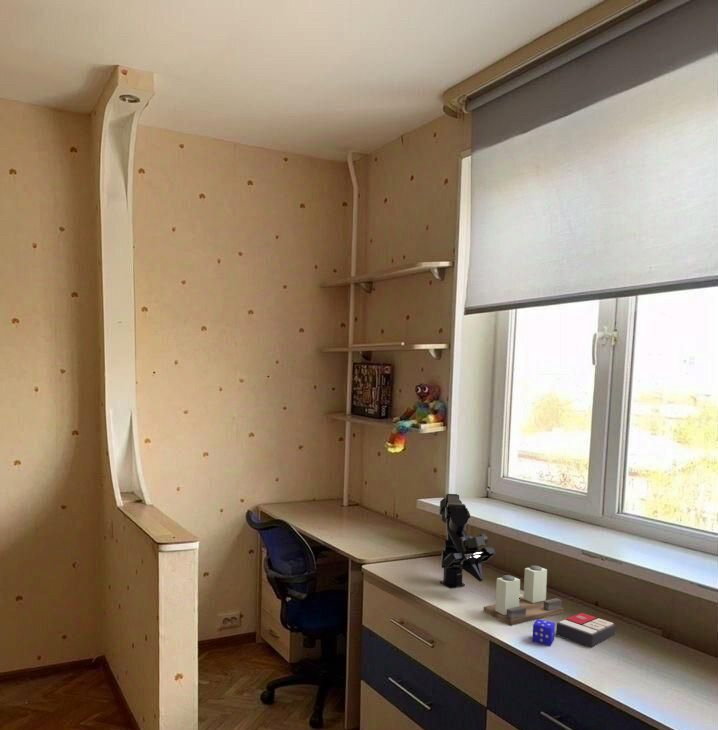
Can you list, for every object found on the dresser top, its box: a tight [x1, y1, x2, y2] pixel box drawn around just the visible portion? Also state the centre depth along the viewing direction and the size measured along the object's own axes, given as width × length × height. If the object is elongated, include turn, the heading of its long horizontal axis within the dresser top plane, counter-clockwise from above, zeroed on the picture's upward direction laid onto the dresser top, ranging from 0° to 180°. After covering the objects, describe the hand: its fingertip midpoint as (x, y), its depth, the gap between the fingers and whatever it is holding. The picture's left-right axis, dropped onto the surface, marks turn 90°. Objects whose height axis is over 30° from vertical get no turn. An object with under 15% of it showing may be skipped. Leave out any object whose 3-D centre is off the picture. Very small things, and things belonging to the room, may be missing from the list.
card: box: [520, 589, 524, 599], centre depth 215 cm, size 8×6×1 cm
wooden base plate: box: [482, 597, 565, 626], centre depth 200 cm, size 12×23×4 cm, turn 121°
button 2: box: [523, 564, 548, 603], centre depth 207 cm, size 4×6×11 cm, turn 122°
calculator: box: [555, 612, 616, 648], centre depth 185 cm, size 11×4×15 cm
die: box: [532, 619, 556, 647], centre depth 179 cm, size 5×5×5 cm
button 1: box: [495, 574, 521, 615], centre depth 195 cm, size 4×6×11 cm, turn 121°
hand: (481, 580), depth 206 cm, fingers closed
